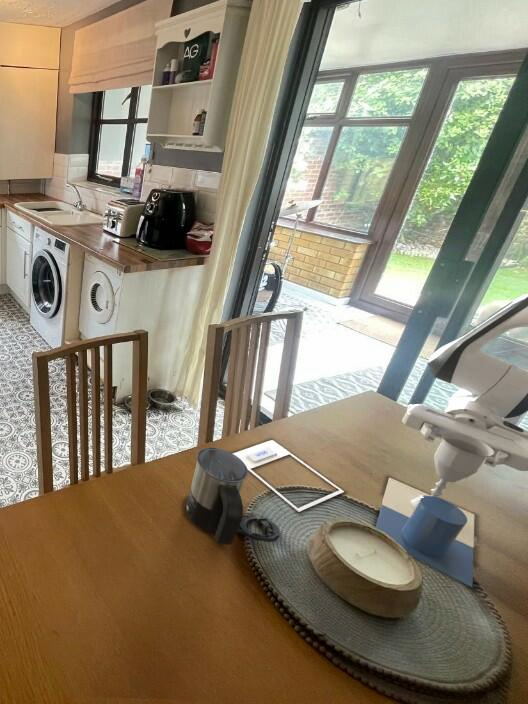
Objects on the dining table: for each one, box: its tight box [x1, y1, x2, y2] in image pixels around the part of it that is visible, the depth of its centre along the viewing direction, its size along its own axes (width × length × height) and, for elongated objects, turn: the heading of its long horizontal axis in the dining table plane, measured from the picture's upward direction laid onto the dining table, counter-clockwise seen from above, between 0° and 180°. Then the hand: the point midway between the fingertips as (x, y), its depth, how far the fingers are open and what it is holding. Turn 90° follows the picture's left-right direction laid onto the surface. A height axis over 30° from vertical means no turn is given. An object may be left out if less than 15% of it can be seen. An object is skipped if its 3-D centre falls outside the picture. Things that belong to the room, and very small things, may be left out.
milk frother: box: [185, 447, 281, 546], centre depth 82 cm, size 14×16×15 cm
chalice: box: [411, 432, 494, 508], centre depth 83 cm, size 7×7×18 cm
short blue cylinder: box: [402, 496, 467, 557], centre depth 78 cm, size 6×6×9 cm
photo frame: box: [232, 439, 345, 513], centre depth 96 cm, size 15×1×18 cm
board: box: [375, 477, 476, 588], centre depth 84 cm, size 22×14×1 cm, turn 134°
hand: (459, 450), depth 87 cm, fingers open, 8 cm apart
